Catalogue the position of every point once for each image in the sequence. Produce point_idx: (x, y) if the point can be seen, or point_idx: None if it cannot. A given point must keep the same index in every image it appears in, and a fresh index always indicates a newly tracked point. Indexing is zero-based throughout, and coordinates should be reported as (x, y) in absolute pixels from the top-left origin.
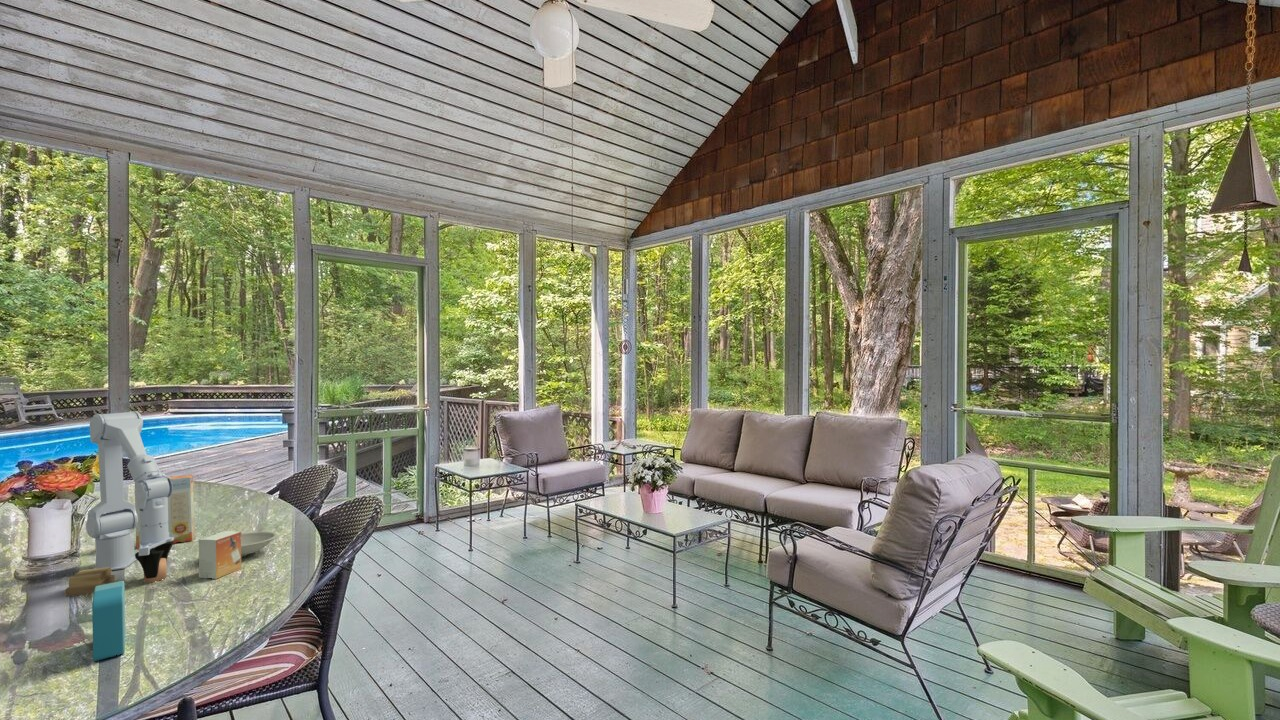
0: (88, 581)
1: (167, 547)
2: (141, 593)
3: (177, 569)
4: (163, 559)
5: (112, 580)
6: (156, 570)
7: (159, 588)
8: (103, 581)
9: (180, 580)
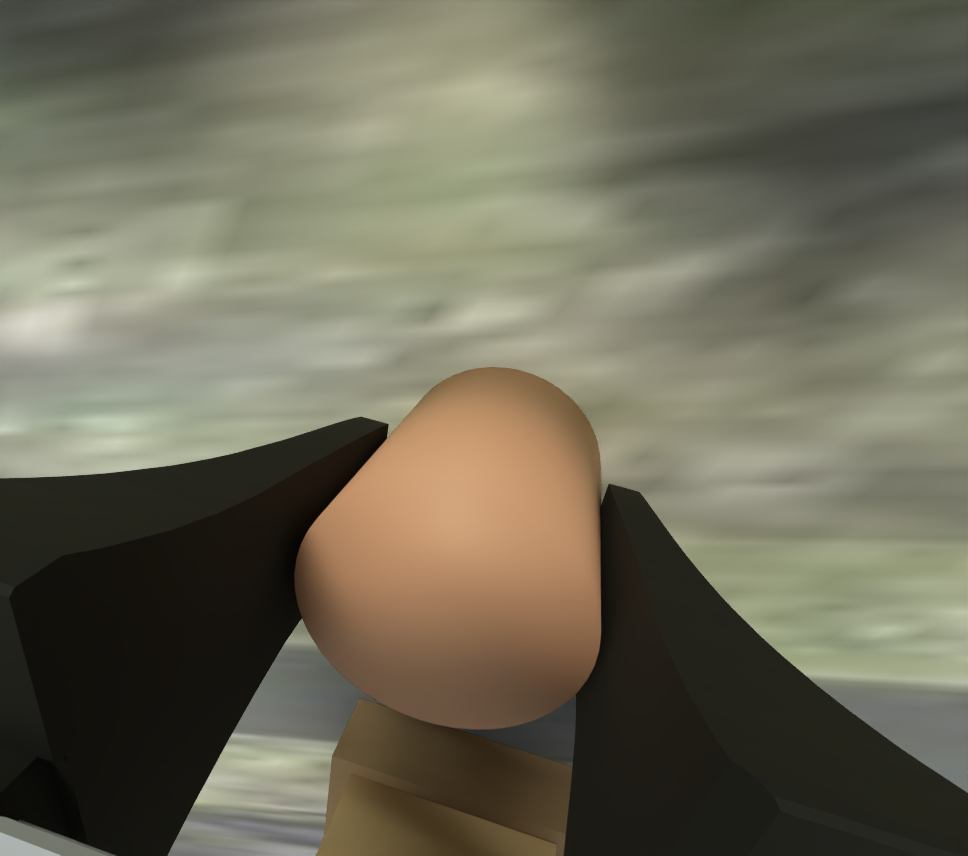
0: None
1: (140, 588)
2: (951, 571)
3: (229, 275)
4: (425, 518)
5: (386, 734)
6: (672, 542)
7: (928, 421)
8: (492, 822)
9: (766, 196)
